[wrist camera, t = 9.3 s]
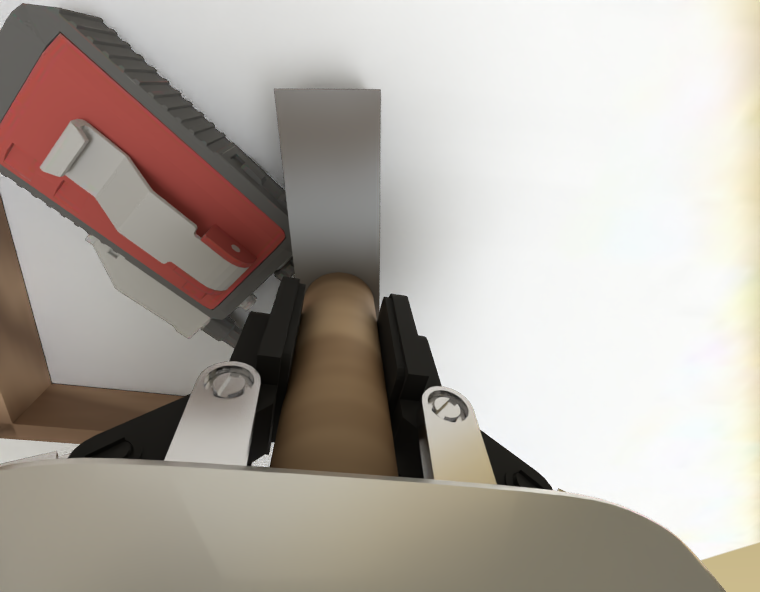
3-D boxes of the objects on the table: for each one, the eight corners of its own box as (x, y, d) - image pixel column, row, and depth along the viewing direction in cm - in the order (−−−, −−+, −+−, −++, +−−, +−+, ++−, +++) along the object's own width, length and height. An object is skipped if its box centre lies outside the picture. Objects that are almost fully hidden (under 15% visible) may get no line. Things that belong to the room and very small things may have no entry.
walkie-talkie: (-45, 147, 16) (310, 389, 24) (-169, 168, 12) (302, 447, 20) (57, -33, 13) (414, 307, 22) (-60, -79, 9) (428, 356, 18)
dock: (259, 416, 25) (249, 456, 22) (27, 395, 22) (-15, 436, 20) (309, -152, 12) (299, -215, 10) (-208, -335, 10) (-405, -482, 7)
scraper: (371, 365, 22) (401, 665, 10) (319, 368, 22) (291, 677, 10) (370, 90, 15) (447, 80, 4) (294, 90, 15) (129, 76, 3)
